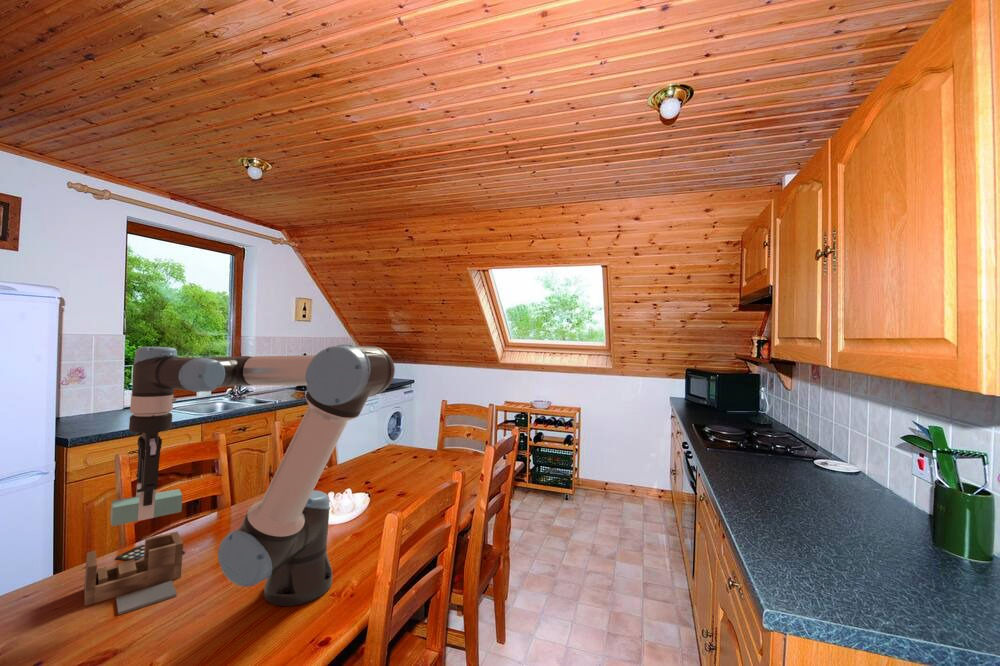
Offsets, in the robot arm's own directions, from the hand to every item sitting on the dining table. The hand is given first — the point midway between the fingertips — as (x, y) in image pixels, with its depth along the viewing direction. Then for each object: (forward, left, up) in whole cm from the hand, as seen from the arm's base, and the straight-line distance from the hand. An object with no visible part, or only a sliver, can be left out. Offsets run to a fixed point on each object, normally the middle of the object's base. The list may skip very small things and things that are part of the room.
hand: (144, 514), depth 93 cm
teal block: (0, -1, 0) cm, 1 cm away
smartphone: (+22, -5, -20) cm, 30 cm away
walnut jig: (+9, 0, -19) cm, 22 cm away
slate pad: (0, -2, -19) cm, 20 cm away
